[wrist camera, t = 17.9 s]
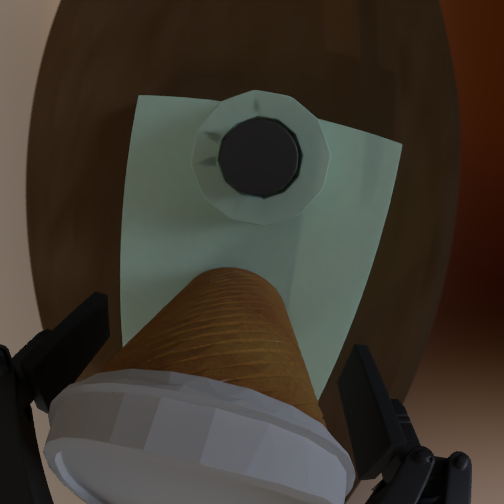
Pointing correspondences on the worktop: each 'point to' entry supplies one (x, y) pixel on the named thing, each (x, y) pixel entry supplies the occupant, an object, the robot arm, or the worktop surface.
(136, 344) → the disposable coffee cup
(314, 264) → the scale
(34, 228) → the worktop surface
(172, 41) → the worktop surface
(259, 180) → the button
